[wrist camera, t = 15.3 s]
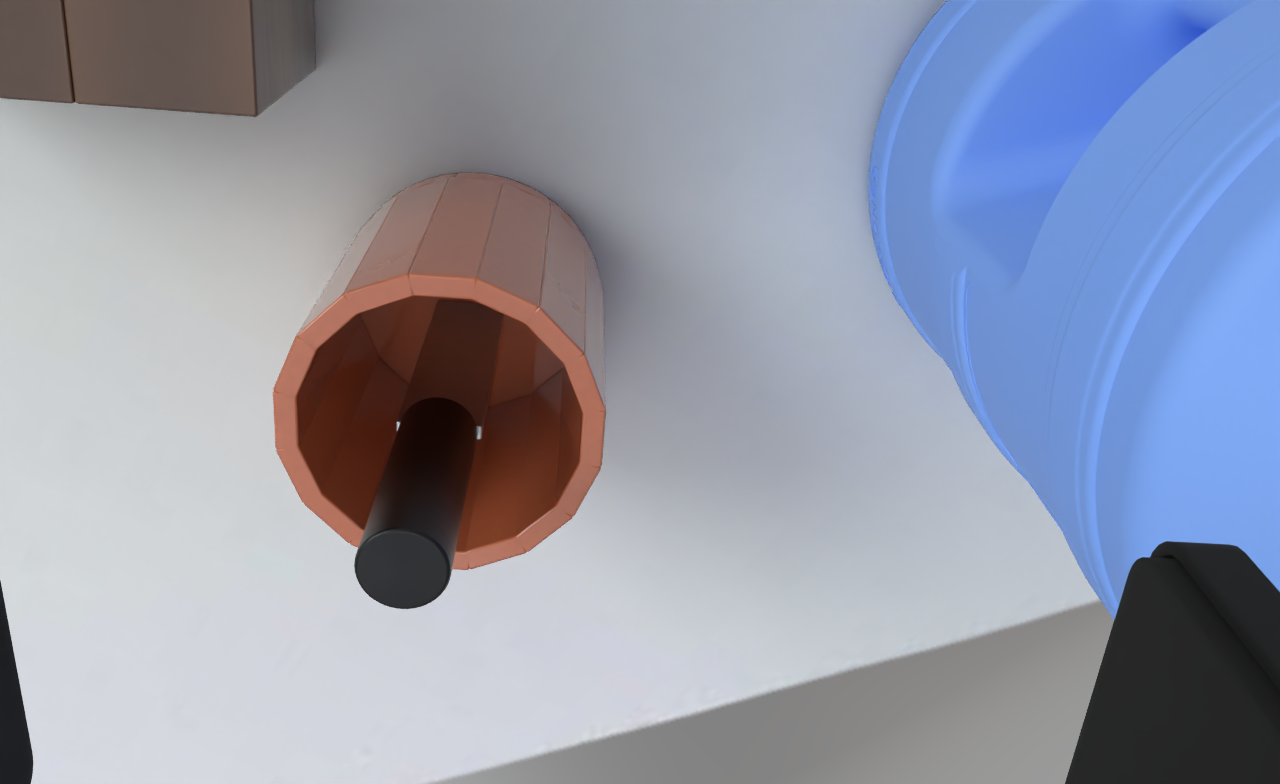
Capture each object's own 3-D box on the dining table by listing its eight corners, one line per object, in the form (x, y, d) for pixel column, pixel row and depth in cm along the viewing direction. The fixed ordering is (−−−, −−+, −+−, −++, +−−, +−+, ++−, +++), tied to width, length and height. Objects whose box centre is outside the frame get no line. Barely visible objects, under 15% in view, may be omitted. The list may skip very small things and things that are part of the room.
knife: (506, 281, 38) (456, 532, 24) (504, 338, 39) (454, 612, 25) (437, 276, 38) (348, 526, 24) (436, 334, 39) (349, 608, 25)
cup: (610, 181, 38) (615, 286, 29) (593, 417, 41) (593, 576, 32) (345, 162, 37) (265, 264, 28) (350, 403, 41) (280, 561, 32)
